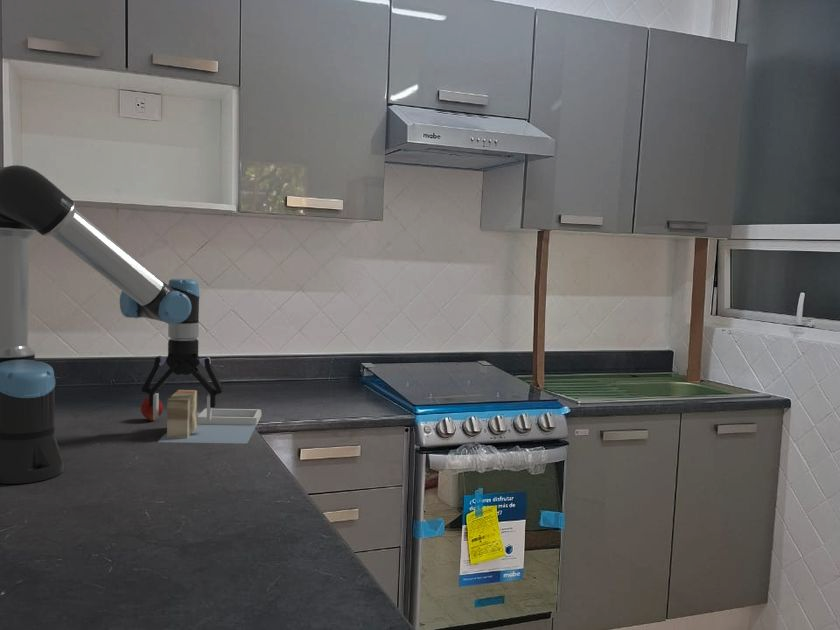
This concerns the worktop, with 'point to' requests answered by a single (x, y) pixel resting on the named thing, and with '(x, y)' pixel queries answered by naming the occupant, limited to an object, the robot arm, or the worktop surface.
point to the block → (181, 414)
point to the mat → (215, 434)
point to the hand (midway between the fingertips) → (182, 419)
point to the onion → (150, 409)
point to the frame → (231, 417)
